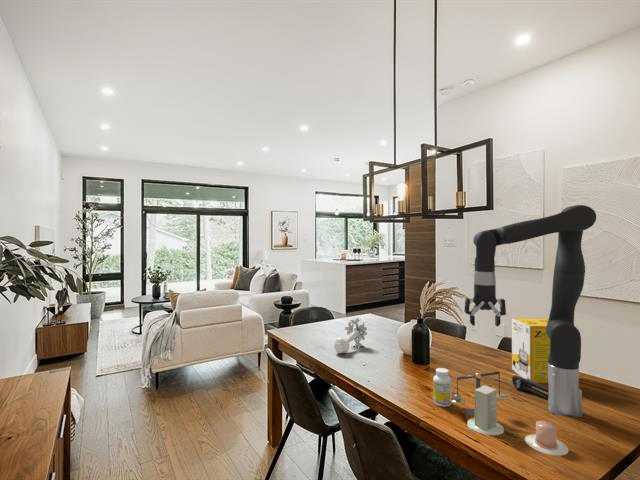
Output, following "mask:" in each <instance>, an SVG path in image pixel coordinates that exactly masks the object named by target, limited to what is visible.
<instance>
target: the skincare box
mask: <svg viewBox="0 0 640 480" xmlns="http://www.w3.org/2000/svg"><path fill="white" fill-rule="evenodd" d="M497 392H498V391H497V389H496V388H493V387H491V386H488V385H485V384H484V385H482V386H480V387H479V388H477V389H476V388H475V389H474V409H475V416H474V418H475V426H477V427H479V428H481V429H483V430H485V431H487V430H489V429H491V428H493V427H495V426H496V425H497V423H498V420H497V419H498V418H497V412H498V411H497V405H498V404H497V403H498V401H497V400H498V399H497Z"/></svg>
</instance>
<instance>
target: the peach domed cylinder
mask: <svg viewBox="0 0 640 480" xmlns="http://www.w3.org/2000/svg"><path fill="white" fill-rule="evenodd" d="M557 433H558V431H557V426H556V425H555V424H553V422H549V421H546V420H537V421H535V434H536V438H535V443H536V444H537V445H538V446H540V447H542V448H544V449H548V450H556V449H557V448H558V445H557V440H558V437H557Z"/></svg>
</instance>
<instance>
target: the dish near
mask: <svg viewBox="0 0 640 480" xmlns="http://www.w3.org/2000/svg"><path fill="white" fill-rule="evenodd" d="M535 438H536V433H533V434H531V433H530V434H528V435H525V438H524V441H525V443H526V444H527V445H528V446H529V447H530V448H532V449H534V450H536V451H537V452H540V453H542V454H546V455H549V456H560V457H561V456H565V455H567V454H568V453H569V448H568V446H567V445H566V444H565V443H564V442H562V441H561V440H559V439H557V445H558V448H557V449H556V450H548V449H544V448H542V447H540V446H538V445H537V444H536V443H535Z"/></svg>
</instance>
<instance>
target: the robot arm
mask: <svg viewBox="0 0 640 480" xmlns="http://www.w3.org/2000/svg"><path fill="white" fill-rule="evenodd" d="M596 221H597V214H596V211H595V210H594V209H593V208H592V207H590V206H587V205H584V204H577V205H570V206H567V207H565V208H564V209H562V210H561V211H560V212H559V213H557V214H553V215H549V216H546V217H545V216H544V217H540V218H535V219H531V220H530V219H529V220H525V221H519V222H514V223H511V224H506V225H504V226H503V225H502V226H501V227H498V228H492V229H487V230H482V231H479V232H477V233H476V234H475V235H474V236H473V241H472V242H473V244H474V246H475V249H476V250H475V252H476V253H475V255H476V256H475V258H474V273H473V297H472V298H469V297H465V299H464V313H465V314H466V315H469V323H470V324H471V326H475V324H476V316H475V314H476V313H477V312H479V310H481V311H492V312H493V313H494V314H495V316H494V325H495V327H499V326H500V325H501V317H502V316H506V315H507V311H506V310H507V309H506V300H505V299H504V298H502V297H501V298H496V297H497V292H496V291H497V285H496V283H497V279H496V270H495V268H496V267H495V266H496V265H495V263H496V262H495V257H496V249H497V247H498V246H502V245H509V244H515V243H519V242H524V241H528V240H530V239H534V238H538V237H542V236H546V235H551V234H555V233H558V238H557V249H556V254H555V262H554V267H553V268H554V269H553V277H552V289H551V290H552V291H551V305H550V306H551V307H550V312H549V316H548V318H547V319H548V323H547V327H546V332H547V335H548V337H549V338H550V354H549V356H548V383H547V388H548V393H547V395H548V400H547V401H548V403H547V406H548V411H549V412H550V413H551V414H553V415H555V416H560V417H561V416H562V417H576V418H582V417H583V390H582V389H581V388H580V363H581V362H580V361H581V360H582V359H581V358H582V336H581V332H580V330H579V329H578V328H577V327H576V326H575V309H576V306H577V303H578V301H579V299H580V296H581V294H582V292H583V290H584V284H585V275H586V264H585V263H586V262H585V258H584V254H583V251H582V240H583V235H584V231H585V230H588V229H590V228H591V227H593V226H594V225H595V224H596ZM472 303H474V306H473V307H472V309H470V306H471V304H472ZM497 303H498V305H499V309H500V310H498V309H497V307H495V306H496V304H497Z"/></svg>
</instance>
